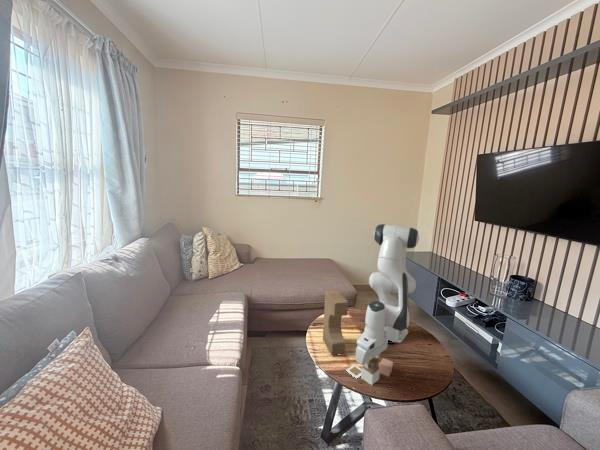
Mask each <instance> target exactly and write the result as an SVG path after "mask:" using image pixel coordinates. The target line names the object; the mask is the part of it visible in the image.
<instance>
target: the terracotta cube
mask: <svg viewBox="0 0 600 450" xmlns="http://www.w3.org/2000/svg"><path fill="white" fill-rule="evenodd" d="M393 367H394V362H393V361H392V360H389V359H387V358H384V357H383V358H382V359H381V360H380V361H379V370H380V375H384V376H386V377H390V375H391V373H392V372H393Z"/></svg>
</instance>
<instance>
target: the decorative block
mask: <svg viewBox="0 0 600 450" xmlns="http://www.w3.org/2000/svg"><path fill="white" fill-rule="evenodd" d="M348 311H349V301H348V300H347V299H346V298H345V297H344V295H342V293H340V291H339V290H338V289H335V290H325V294H324V309H323V312H324V313H323V326H322V327H323V328H322V340H323V343H324V342H325V343H324V344H326V345H325V346H326V348H327V350H328V352H329V354H330V353H331V354H330V355H336V356H339V355H338V354H344V355H345V354H346V340H345V339H344V336H343V331H342V317H344V316H348V315H349V314H348Z"/></svg>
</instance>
